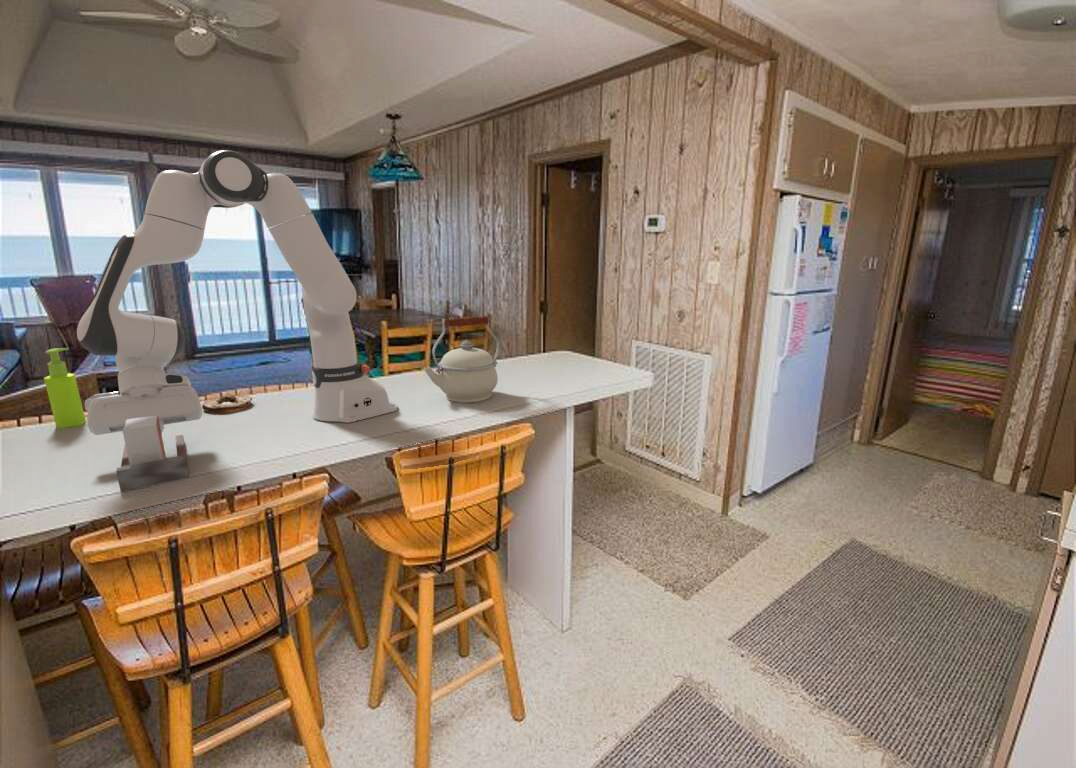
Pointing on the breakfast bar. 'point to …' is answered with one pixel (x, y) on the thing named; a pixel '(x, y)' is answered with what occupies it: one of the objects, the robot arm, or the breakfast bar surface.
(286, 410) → the breakfast bar surface
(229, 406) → the brown speckled ring
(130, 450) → the small box
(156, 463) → the guide channel
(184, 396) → the robot arm
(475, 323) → the kettle
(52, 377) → the soap dispenser
